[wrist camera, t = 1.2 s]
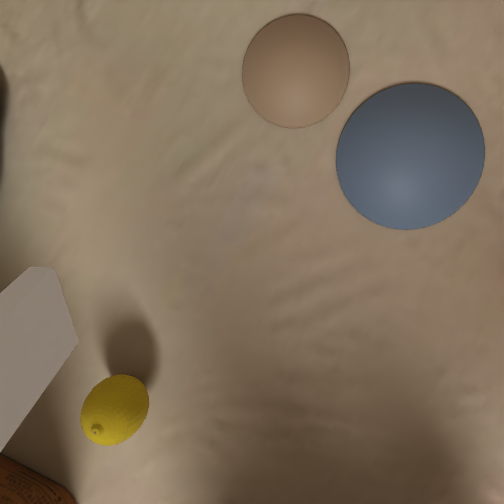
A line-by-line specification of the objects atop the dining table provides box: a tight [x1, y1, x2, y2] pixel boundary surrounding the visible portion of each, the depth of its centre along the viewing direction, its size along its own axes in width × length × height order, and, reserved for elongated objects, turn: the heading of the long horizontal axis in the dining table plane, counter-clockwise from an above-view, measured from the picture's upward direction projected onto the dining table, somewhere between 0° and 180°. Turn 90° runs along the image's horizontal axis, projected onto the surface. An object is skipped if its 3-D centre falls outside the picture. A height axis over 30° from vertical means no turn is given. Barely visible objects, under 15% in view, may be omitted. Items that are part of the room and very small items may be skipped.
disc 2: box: [336, 84, 485, 230], centre depth 37 cm, size 12×12×1 cm
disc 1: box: [242, 15, 350, 128], centre depth 37 cm, size 9×9×1 cm
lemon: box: [80, 374, 149, 446], centre depth 40 cm, size 6×6×8 cm
